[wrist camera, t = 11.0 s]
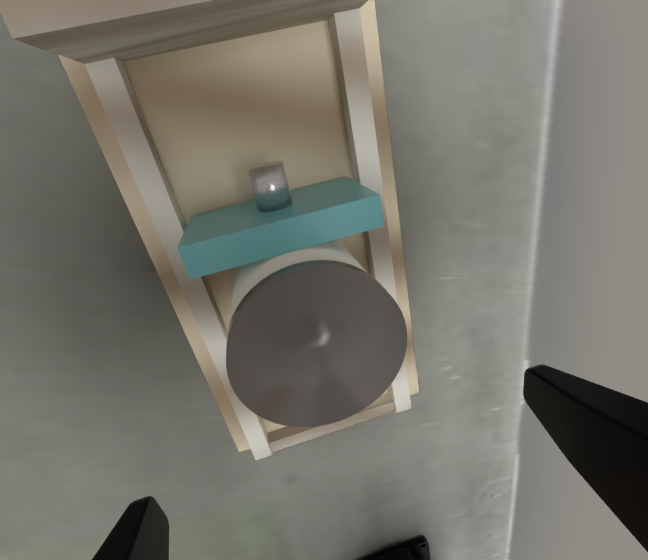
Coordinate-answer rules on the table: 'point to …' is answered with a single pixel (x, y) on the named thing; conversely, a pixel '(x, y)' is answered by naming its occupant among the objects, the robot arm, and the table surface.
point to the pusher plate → (277, 221)
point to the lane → (231, 141)
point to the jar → (311, 336)
